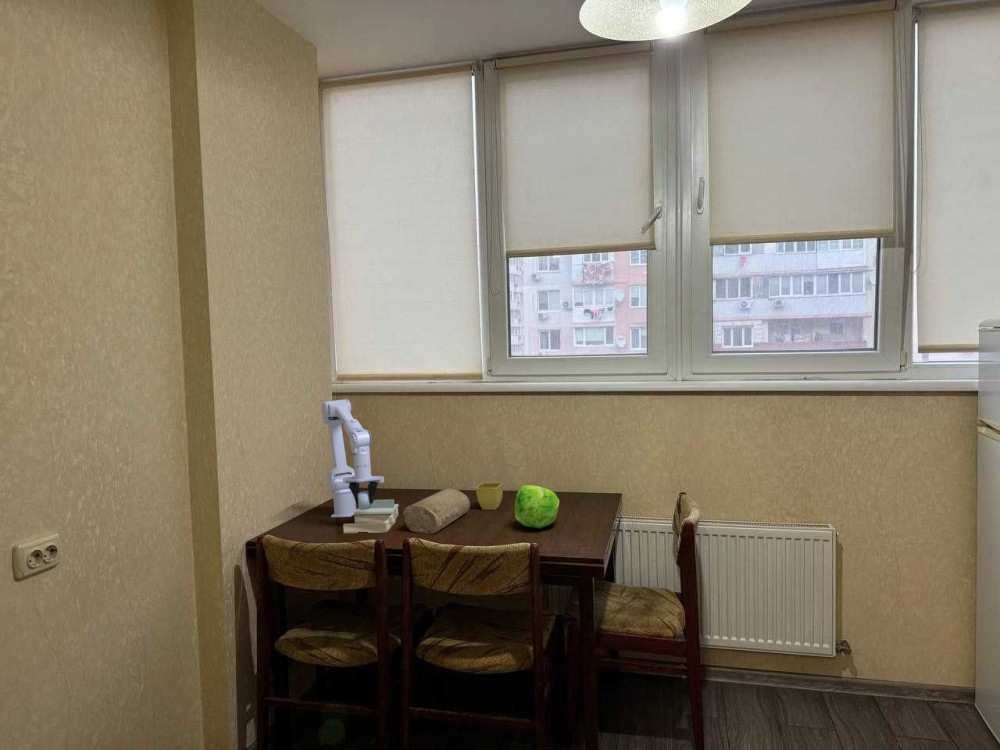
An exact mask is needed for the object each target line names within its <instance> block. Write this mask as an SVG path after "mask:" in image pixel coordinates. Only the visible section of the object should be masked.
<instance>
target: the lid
mask: <svg viewBox="0 0 1000 750" xmlns="http://www.w3.org/2000/svg"><path fill="white" fill-rule="evenodd" d="M396 508H399V503H396V504H395V499H374V501H373V503H372V504H371V508H370V509H366V510H360V509H359V507H358V508H356V509H357V510H356V511H355V512H354V515H355V514H392V513H393V512H394V511H395V510H396Z"/></svg>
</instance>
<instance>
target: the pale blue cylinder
mask: <svg viewBox="0 0 1000 750" xmlns="http://www.w3.org/2000/svg"><path fill="white" fill-rule="evenodd" d="M357 505H358V508H359V509H360V510H366V509H370V508H371V504H370V500H369V490H366V491H365V490H363V491H359V493H358V504H357Z"/></svg>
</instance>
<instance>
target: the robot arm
mask: <svg viewBox="0 0 1000 750" xmlns="http://www.w3.org/2000/svg"><path fill="white" fill-rule="evenodd" d="M351 412H352V404H351V402H350V400H349V399H347V398H345V399H337V400H336V399H335V400H323V402H322V404H321V415H322V416H321V417H322V421H323V423H324V424H326V425H327V428H328V431H329V432H328V433H329V439H330V446H331V447H330V448H331V455H332V462H333V467H332V468H331V469H330V470H329V472H328V473H327V488H328V491H330V493H332V495H333V507H334V508H333V511H334V513H333V514H331V516H330V517H331V518H352V516H353V517H354V515H355V514H354V512H355V511H356V510H357V509H358V508H357V505H358V493H359V492H360V484H367V488H368V489H367V490H368V491H369V500H370V504H372V503H373V501H374V500H375V494H376V491H377V487H378V486H379V483H380V484H383V483H385V476H383V475H382V476H381V475H380V476H379V475H372V468H371V467H372V466H371V450H370V449H371V448H370V447H371V446H372V443H373V442H372V441H373V440H372V434H371V432H370V430H369V429H365V428H363V426H362V425H361V422H359V420H358V419H356V418H354V417H353V416H352V413H351ZM343 424H344V425H343ZM342 425H343V428H342ZM343 429H344V431H345V432H346V434H347V436H348V438H349V444H350V448H351V453H352V455H353V467H351V466H349V465H347V463H348V462H347V457H346V450H345V442H344V436H343Z"/></svg>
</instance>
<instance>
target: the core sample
mask: <svg viewBox="0 0 1000 750" xmlns="http://www.w3.org/2000/svg"><path fill="white" fill-rule="evenodd" d="M470 507H471V501H470V499H469V498H468V496H467V495H466V494H464V493H463V492H462V491H460V490H457V489H454V488H451V487H450V488H445V489H442V490H440V491H437V492H436V493H434V494H432V495H430V496H427V497H425V498H424V499H422V500H421V499H420V500H419V501H417V502H415V503H413V504H410V505H409V506H406V507H405V508H404V510H403V517H404V522H405V524H406V527H407V528H408V530H409V531H410V532H413V533H419V534H426V535H431V534H435V533H437V532H439V531H441V530H442V529H444V528H446V527H447V526H449V525H450V524H451V523H452V522H454V521H456V520H458V519H459V518H460V517H461V516H463V515H465V514H467V512H469V510H470Z"/></svg>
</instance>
